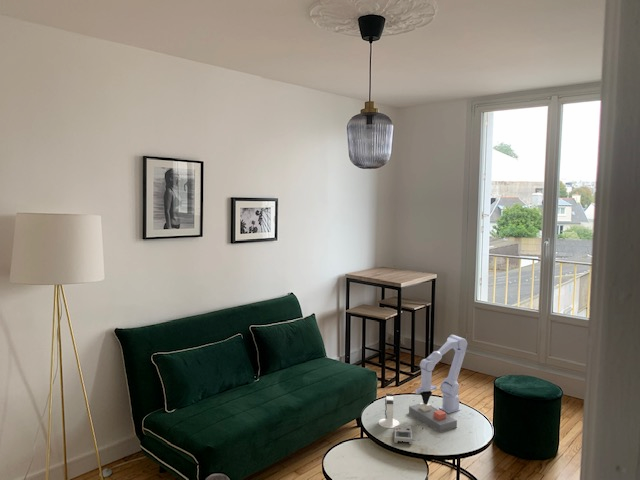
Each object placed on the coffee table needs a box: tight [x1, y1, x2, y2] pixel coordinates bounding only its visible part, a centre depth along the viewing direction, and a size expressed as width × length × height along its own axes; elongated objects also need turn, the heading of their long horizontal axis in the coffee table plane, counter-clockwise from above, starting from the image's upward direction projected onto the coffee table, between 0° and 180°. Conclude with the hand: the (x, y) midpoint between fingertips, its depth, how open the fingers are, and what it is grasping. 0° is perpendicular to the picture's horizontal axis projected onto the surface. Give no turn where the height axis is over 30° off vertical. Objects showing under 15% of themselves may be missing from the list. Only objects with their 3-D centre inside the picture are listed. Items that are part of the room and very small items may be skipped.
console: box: [408, 403, 458, 433], centre depth 274 cm, size 26×12×4 cm, turn 29°
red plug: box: [433, 409, 447, 420], centre depth 268 cm, size 5×5×4 cm
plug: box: [418, 401, 432, 412], centre depth 279 cm, size 5×5×4 cm
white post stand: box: [378, 393, 400, 429], centre depth 269 cm, size 12×11×15 cm
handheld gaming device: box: [393, 424, 413, 445], centre depth 253 cm, size 9×15×4 cm, turn 171°
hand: (425, 403), depth 279 cm, fingers closed
